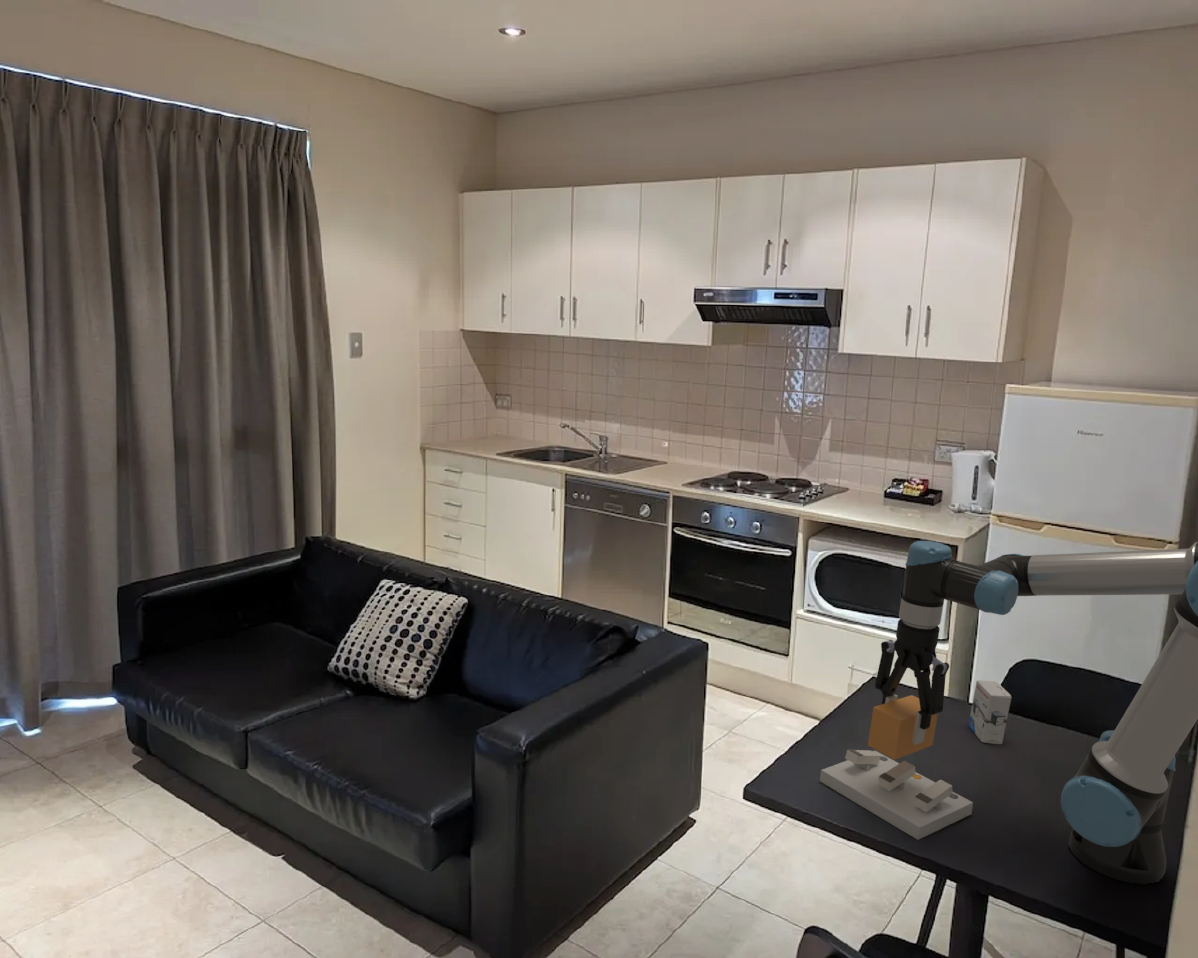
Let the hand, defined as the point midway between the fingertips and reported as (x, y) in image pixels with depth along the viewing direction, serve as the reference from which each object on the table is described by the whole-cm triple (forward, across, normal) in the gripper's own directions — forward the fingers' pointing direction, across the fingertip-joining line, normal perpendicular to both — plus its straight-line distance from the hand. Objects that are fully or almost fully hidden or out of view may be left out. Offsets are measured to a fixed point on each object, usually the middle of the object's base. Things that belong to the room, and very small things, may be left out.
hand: (902, 734), depth 174 cm
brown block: (+2, 0, 0) cm, 2 cm away
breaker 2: (+9, 0, 0) cm, 9 cm away
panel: (+13, 0, 0) cm, 13 cm away
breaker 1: (+9, +8, 0) cm, 12 cm away
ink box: (+14, +6, -43) cm, 46 cm away
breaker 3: (+9, -8, 0) cm, 12 cm away
